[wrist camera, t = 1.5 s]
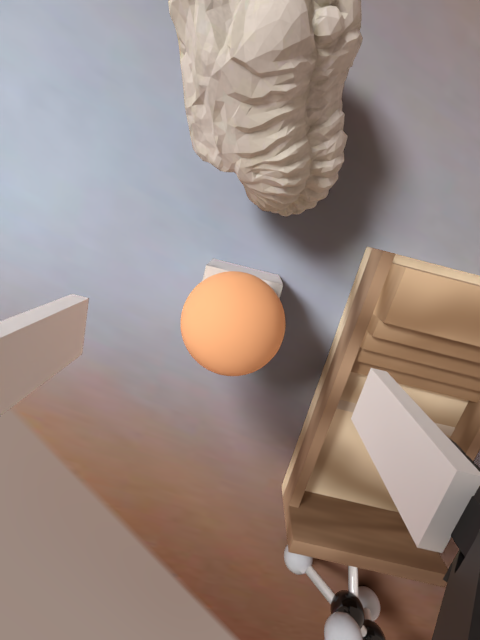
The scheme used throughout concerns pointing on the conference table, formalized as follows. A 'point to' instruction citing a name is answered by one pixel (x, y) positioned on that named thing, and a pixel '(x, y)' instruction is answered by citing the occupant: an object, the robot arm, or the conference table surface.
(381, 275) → the wooden stepped tray
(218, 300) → the ball
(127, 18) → the conference table surface
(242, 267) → the white open box
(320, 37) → the fossil replica
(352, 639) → the molecular model
